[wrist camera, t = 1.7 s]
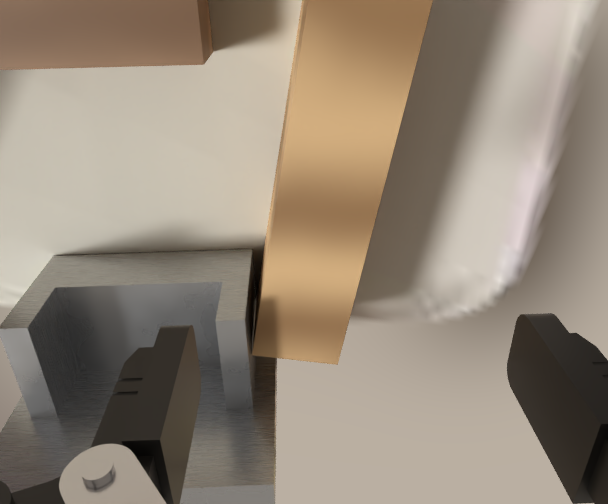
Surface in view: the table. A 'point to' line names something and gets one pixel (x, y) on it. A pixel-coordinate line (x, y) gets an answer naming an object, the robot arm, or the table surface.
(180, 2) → the rest block
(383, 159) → the rail
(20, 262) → the table surface
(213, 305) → the bracket
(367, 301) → the table surface
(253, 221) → the table surface
